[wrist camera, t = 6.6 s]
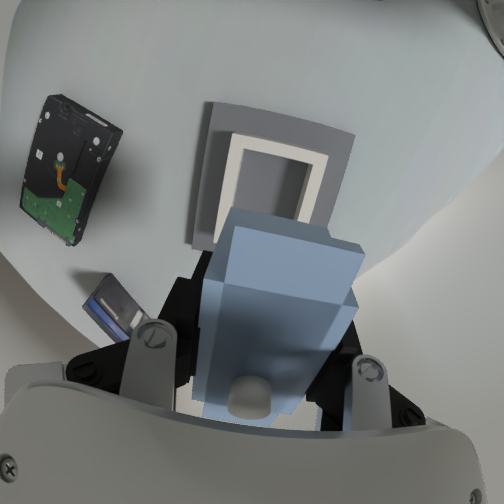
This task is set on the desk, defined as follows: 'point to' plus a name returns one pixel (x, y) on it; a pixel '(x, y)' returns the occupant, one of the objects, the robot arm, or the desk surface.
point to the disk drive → (66, 167)
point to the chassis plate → (267, 169)
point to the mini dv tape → (114, 309)
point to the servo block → (270, 314)
